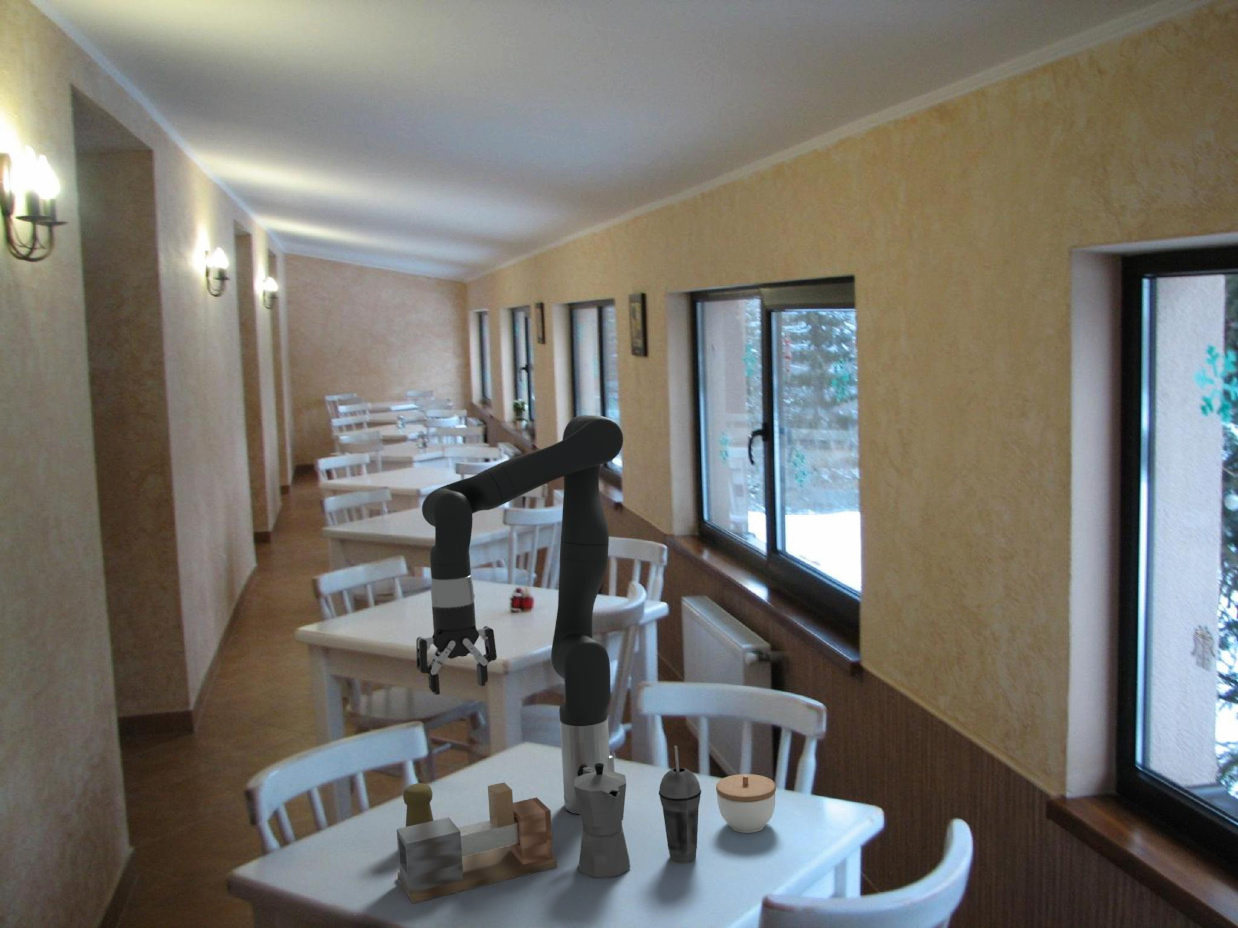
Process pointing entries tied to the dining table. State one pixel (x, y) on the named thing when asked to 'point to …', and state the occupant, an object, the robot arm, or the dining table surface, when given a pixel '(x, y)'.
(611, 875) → the coffeepot
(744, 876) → the dining table surface
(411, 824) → the cork
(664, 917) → the dining table surface
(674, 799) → the beverage cup
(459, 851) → the block assembly on base
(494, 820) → the two-tone wooden block
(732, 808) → the lidded jar
